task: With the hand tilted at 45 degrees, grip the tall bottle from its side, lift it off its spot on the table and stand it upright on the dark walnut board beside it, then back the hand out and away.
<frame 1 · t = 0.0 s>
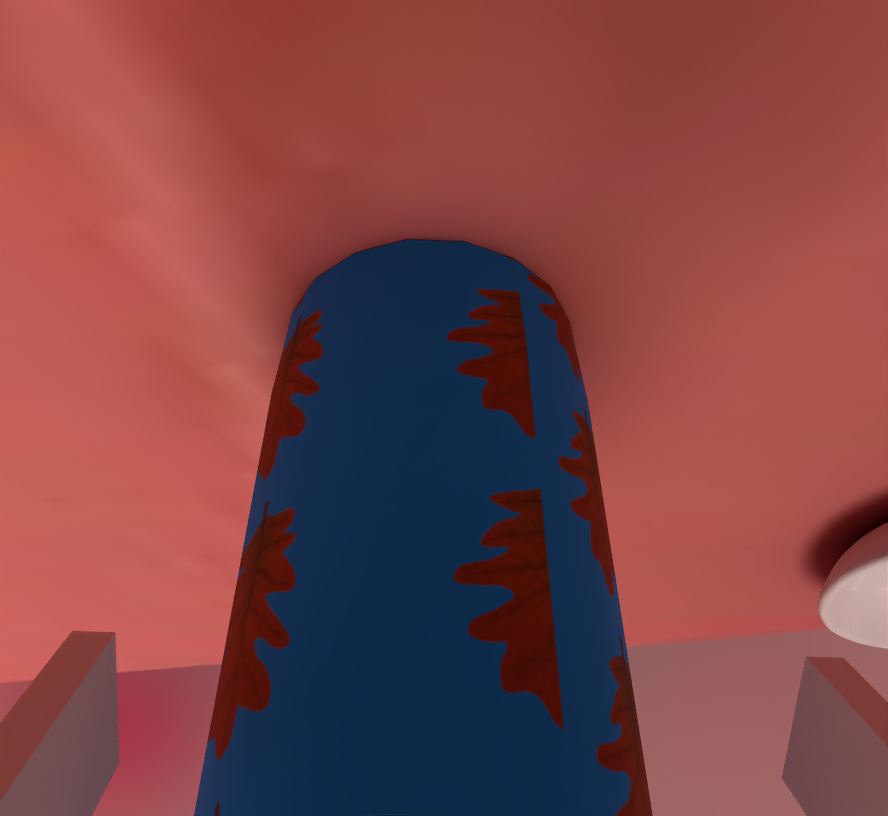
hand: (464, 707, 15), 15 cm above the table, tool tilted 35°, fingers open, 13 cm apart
thermos: (430, 347, 30), on the table
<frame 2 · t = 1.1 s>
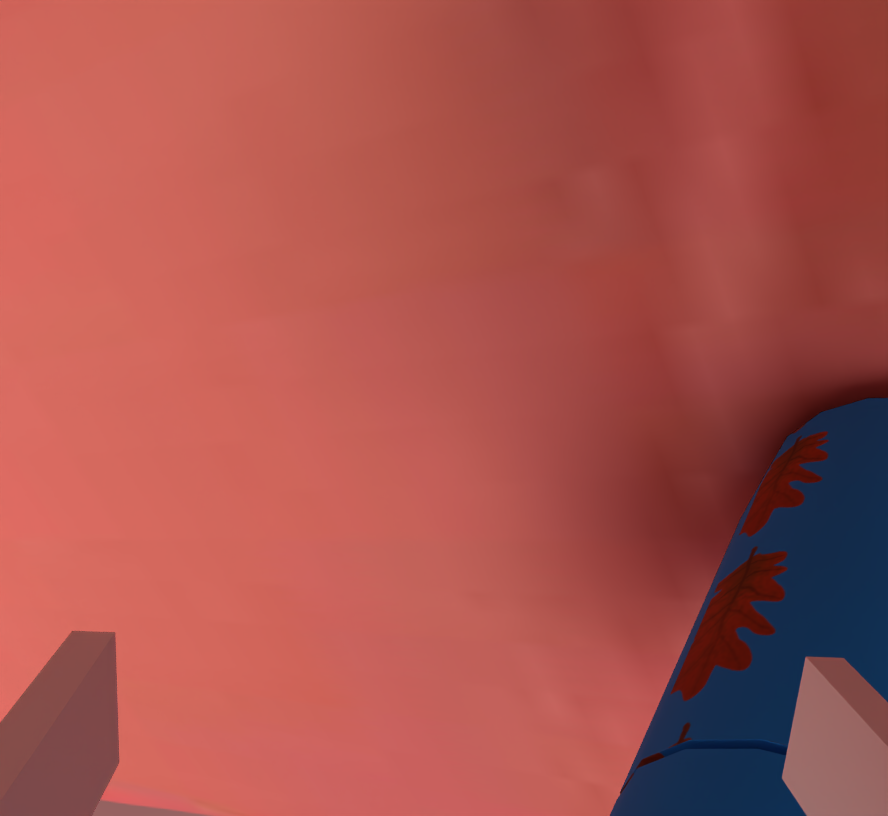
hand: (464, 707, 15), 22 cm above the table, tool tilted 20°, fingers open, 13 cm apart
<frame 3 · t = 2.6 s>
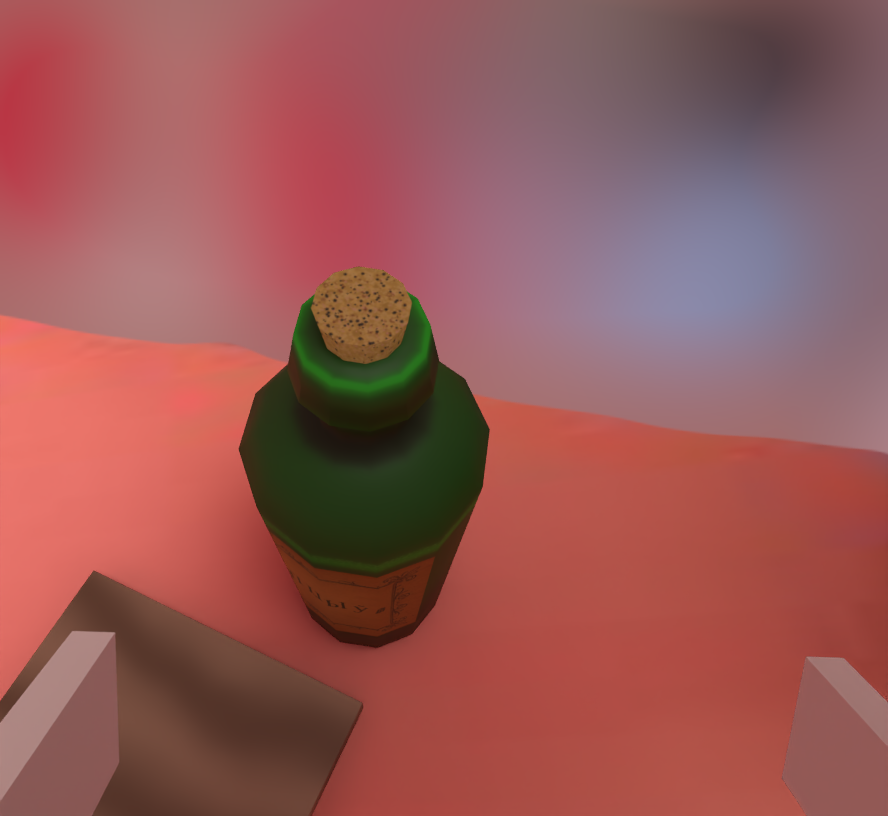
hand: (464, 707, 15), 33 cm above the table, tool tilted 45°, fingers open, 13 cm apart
bottle: (371, 581, 50), on the table
walnut board: (138, 793, 43), on the table
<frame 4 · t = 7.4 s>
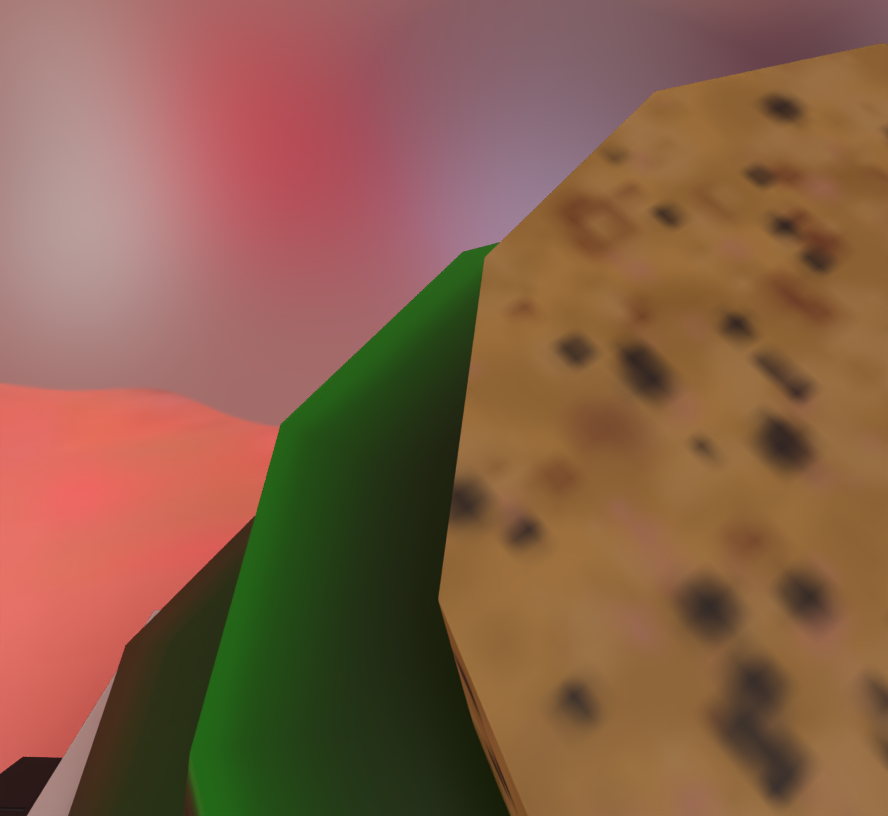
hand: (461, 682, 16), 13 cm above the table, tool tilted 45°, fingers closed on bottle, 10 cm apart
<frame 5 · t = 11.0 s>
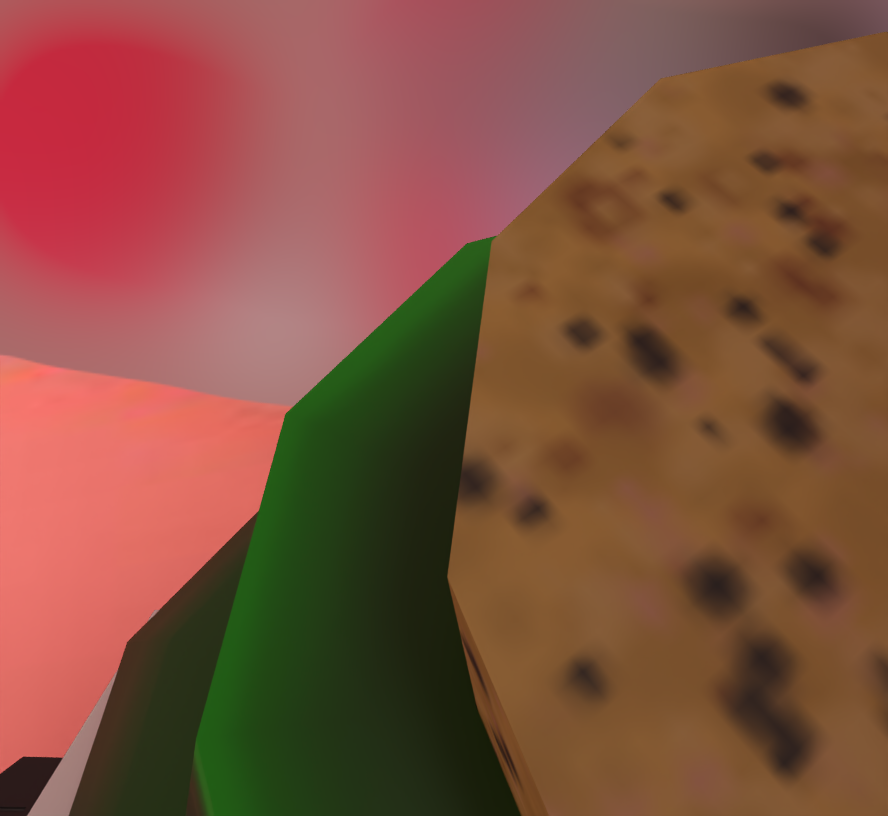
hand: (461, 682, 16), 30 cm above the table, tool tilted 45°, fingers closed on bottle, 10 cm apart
when the fingers open (16 cm above the table, at t = 15.1 s): bottle drops 1 cm, resting on walnut board.
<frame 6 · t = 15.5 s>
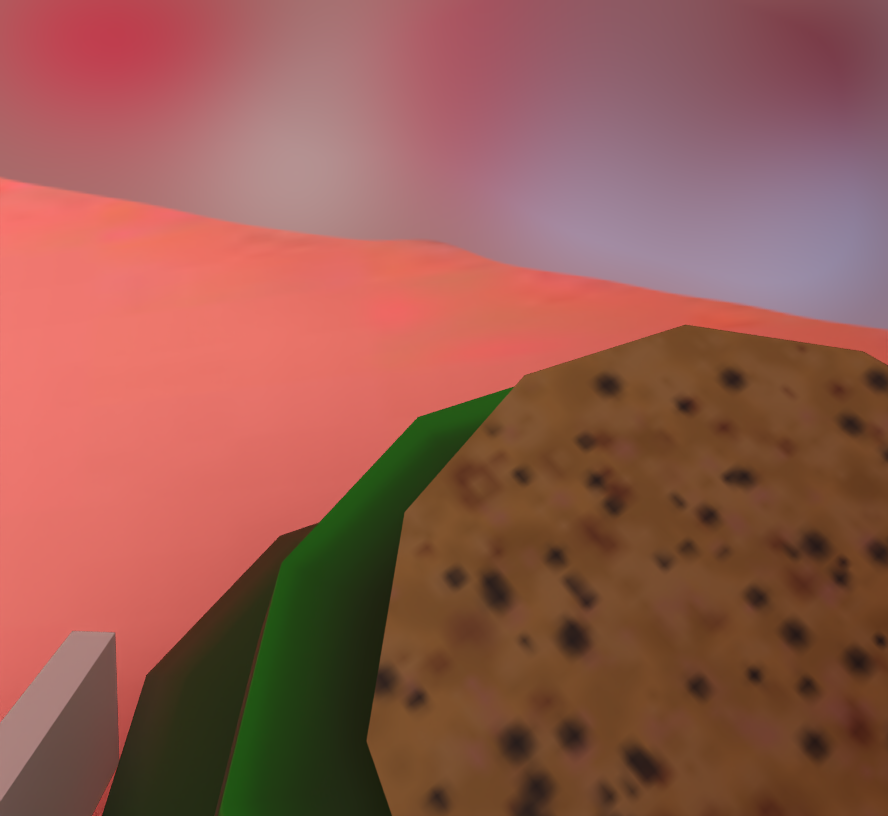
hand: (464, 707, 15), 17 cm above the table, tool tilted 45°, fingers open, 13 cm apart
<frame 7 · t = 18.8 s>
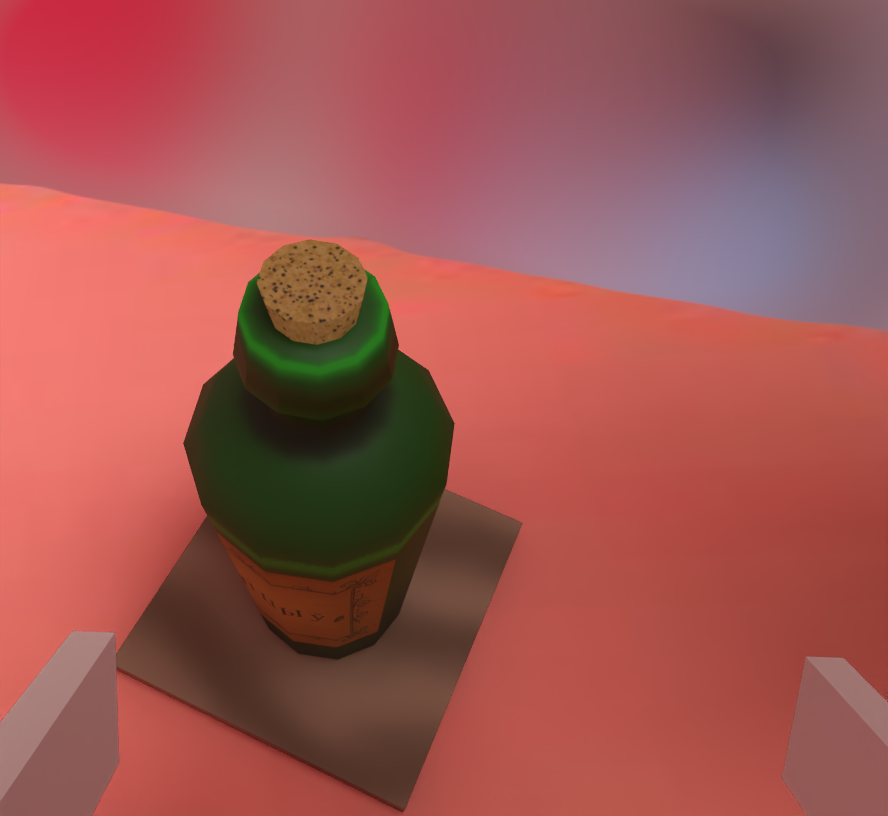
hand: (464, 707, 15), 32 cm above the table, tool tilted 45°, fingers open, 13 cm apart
bottle: (332, 589, 48), point 1 cm above the table, touching walnut board
walnut board: (331, 596, 49), on the table
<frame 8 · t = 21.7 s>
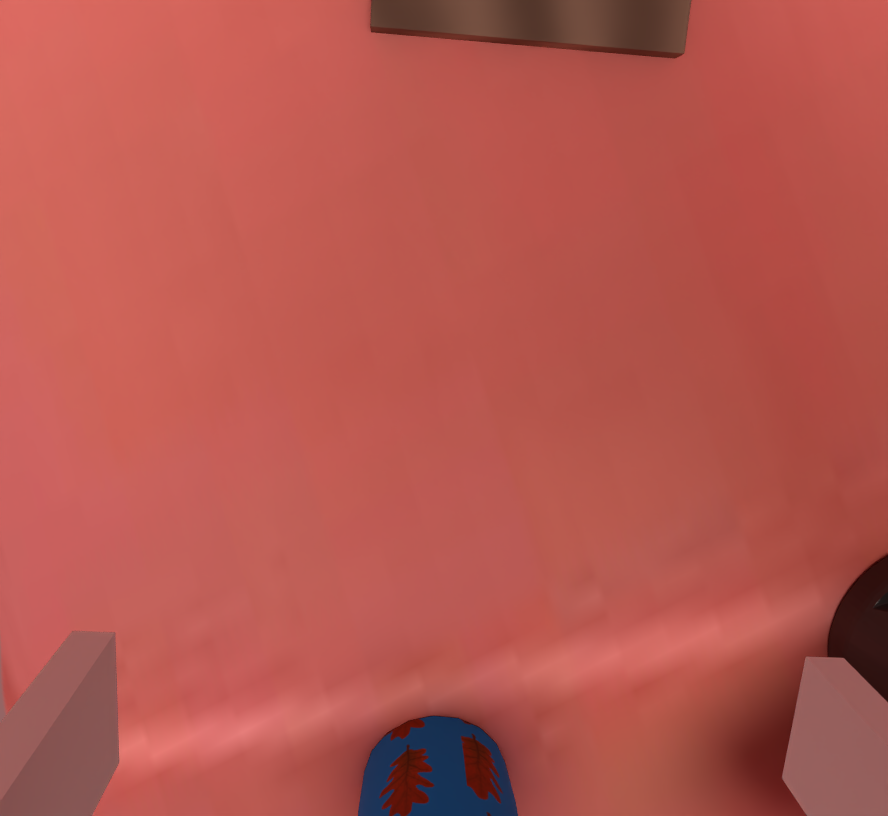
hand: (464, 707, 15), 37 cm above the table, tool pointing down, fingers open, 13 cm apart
thermos: (435, 776, 58), on the table
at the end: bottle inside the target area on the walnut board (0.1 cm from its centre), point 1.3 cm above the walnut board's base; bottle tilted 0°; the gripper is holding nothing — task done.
